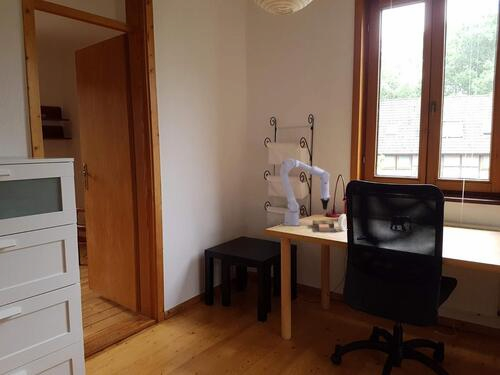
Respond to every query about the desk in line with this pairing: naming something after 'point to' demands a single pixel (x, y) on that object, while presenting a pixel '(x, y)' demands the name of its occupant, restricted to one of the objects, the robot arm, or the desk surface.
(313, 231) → the mat
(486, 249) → the desk surface
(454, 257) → the desk surface
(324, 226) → the tile
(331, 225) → the deck
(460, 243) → the desk surface
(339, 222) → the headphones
